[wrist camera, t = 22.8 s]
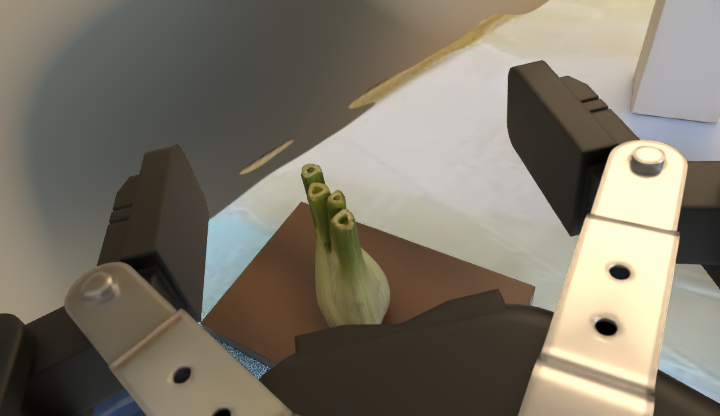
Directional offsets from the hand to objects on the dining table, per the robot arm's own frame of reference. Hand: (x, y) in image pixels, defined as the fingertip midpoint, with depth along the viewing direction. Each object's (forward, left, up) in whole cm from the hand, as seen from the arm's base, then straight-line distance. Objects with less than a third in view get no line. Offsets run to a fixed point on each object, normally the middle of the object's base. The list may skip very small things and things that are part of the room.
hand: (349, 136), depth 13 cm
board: (-8, -7, -26) cm, 28 cm away
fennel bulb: (-7, -8, -24) cm, 27 cm away
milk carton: (-41, +7, -26) cm, 49 cm away
